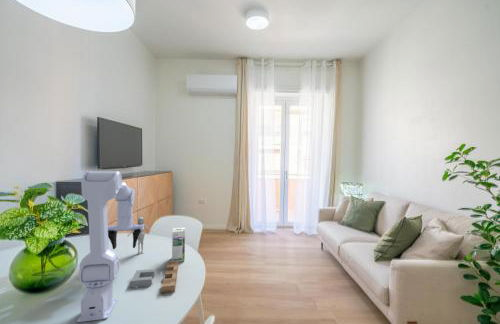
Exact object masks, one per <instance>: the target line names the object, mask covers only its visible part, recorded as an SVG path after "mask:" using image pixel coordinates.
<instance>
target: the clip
mask: <svg viewBox="0 0 500 324" xmlns="http://www.w3.org/2000/svg"><path fill="white" fill-rule="evenodd" d="M155 271H156V269H155V268H151V269H137V270H135V273H134V275H133V276H132V278H131V280H130V288H132V289H133V288H140V287H141V288H142V287H151V286H152V285H153V278H155Z"/></svg>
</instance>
